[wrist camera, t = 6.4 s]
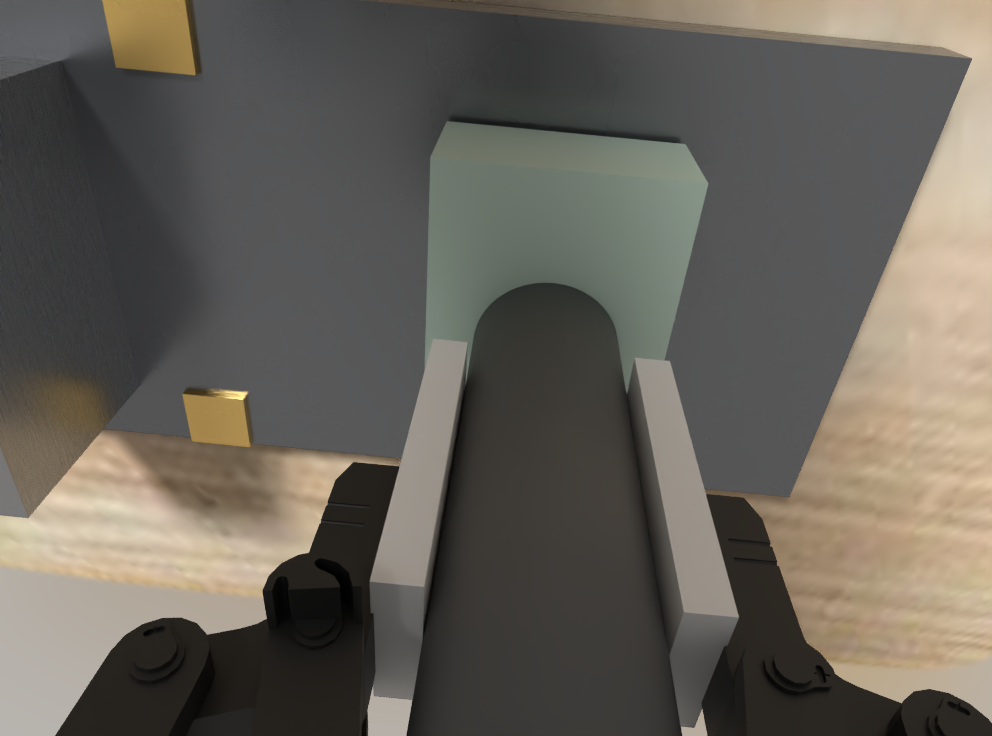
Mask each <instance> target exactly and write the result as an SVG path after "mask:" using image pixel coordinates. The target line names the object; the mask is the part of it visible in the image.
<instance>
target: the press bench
mask: <svg viewBox="0 0 992 736" xmlns="http://www.w3.org/2000/svg"><path fill="white" fill-rule="evenodd" d="M971 60H972V58H970V57H967V56H964V55H961V54H959V53H956V52H953V51H950V50H948V49H945V48H942V47H931V46H921V45H910V44H900V43H889V42H879V41H868V40H858V39H847V38H837V37H826V36H816V35H805V34H795V33H784V32H774V31H763V30H753V29H742V28H732V27H721V26H711V25H700V24H690V23H679V22H669V21H658V20H648V19H637V18H627V17H616V16H606V15H595V14H585V13H574V12H564V11H553V10H543V9H532V8H522V7H511V6H500V5H490V4H479V3H469V2H458V1H448V0H0V515H3V516H13V517H23V518H29V516H30V515H31V514H32V513H33V512H34V510H35V509H36V508H37V507H38V506H39V505H40V503H41V502H42V501H43V500H44V499H45V497H46V496H47V495H48V494H49V493H50V492H51V490H52V489H53V488H54V487H55V486H56V484H57V483H58V482H59V481H60V480H61V478H62V477H63V476H64V475H65V474H66V473H67V471H68V470H69V469H70V468H71V467H72V465H73V464H74V463H75V462H76V461H77V460H78V458H79V457H80V456H81V455H82V454H83V452H84V451H85V450H86V449H87V448H88V447H89V445H90V444H91V443H92V442H93V441H94V439H95V438H96V437H97V436H98V435H99V433H100V432H101V431H102V430H103V429H111V430H121V431H131V432H141V433H151V434H161V435H171V436H181V437H191V439H192V442H202V443H212V444H222V445H232V446H242V447H250V446H251V445H252V444H262V445H272V446H282V447H292V448H302V449H312V450H322V451H332V452H342V453H352V454H362V455H372V456H382V457H392V458H402V456H403V452H404V448H405V444H406V440H407V436H408V433H409V429H410V425H411V421H412V417H413V414H414V410H415V406H416V402H417V398H418V394H419V391H420V387H421V383H422V379H423V375H424V371H425V335H426V299H427V263H428V226H429V190H430V157H431V155H432V152H433V150H434V148H435V146H436V144H437V141H438V139H439V137H440V135H441V133H442V131H443V128H444V126H445V124H446V122H447V121H450V122H461V123H471V124H481V125H492V126H502V127H512V128H523V129H533V130H544V131H554V132H564V133H575V134H585V135H595V136H606V137H616V138H627V139H637V140H647V141H658V142H668V143H679V144H686V146H687V148H688V149H689V151H690V153H691V154H692V156H693V158H694V160H695V161H696V163H697V165H698V167H699V168H700V170H701V172H702V173H703V175H704V177H705V179H706V180H707V182H708V188H707V192H706V196H705V200H704V204H703V208H702V212H701V216H700V220H699V224H698V228H697V232H696V236H695V240H694V244H693V248H692V252H691V256H690V260H689V264H688V268H687V272H686V276H685V280H684V284H683V288H682V292H681V296H680V300H679V304H678V308H677V312H676V316H675V320H674V324H673V328H672V332H671V336H670V340H669V344H668V348H667V352H666V356H665V360H664V361H670V363H671V367H672V371H673V374H674V378H675V382H676V386H677V389H678V393H679V397H680V400H681V404H682V408H683V412H684V415H685V419H686V423H687V426H688V430H689V434H690V438H691V441H692V445H693V449H694V452H695V456H696V460H697V463H698V467H699V471H700V475H701V478H702V482H703V486H704V489H713V490H723V491H733V492H744V493H754V494H764V495H774V496H784V497H789V496H790V494H791V491H792V489H793V487H794V484H795V482H796V479H797V477H798V475H799V472H800V470H801V467H802V465H803V463H804V460H805V458H806V455H807V453H808V451H809V448H810V446H811V443H812V441H813V439H814V436H815V434H816V431H817V429H818V427H819V424H820V422H821V419H822V417H823V415H824V412H825V410H826V408H827V405H828V403H829V400H830V398H831V396H832V393H833V391H834V388H835V386H836V384H837V381H838V379H839V376H840V374H841V372H842V369H843V367H844V364H845V362H846V360H847V357H848V355H849V352H850V350H851V348H852V345H853V343H854V340H855V338H856V336H857V333H858V331H859V328H860V326H861V324H862V321H863V319H864V316H865V314H866V312H867V309H868V307H869V305H870V302H871V300H872V297H873V295H874V293H875V290H876V288H877V285H878V283H879V281H880V278H881V276H882V273H883V271H884V269H885V266H886V264H887V261H888V259H889V257H890V254H891V252H892V249H893V247H894V245H895V242H896V240H897V237H898V235H899V233H900V230H901V228H902V225H903V223H904V221H905V218H906V216H907V214H908V211H909V209H910V206H911V204H912V202H913V199H914V197H915V194H916V192H917V190H918V187H919V185H920V182H921V180H922V178H923V175H924V173H925V170H926V168H927V166H928V163H929V161H930V158H931V156H932V154H933V151H934V149H935V146H936V144H937V142H938V139H939V137H940V134H941V132H942V130H943V127H944V125H945V123H946V120H947V118H948V115H949V113H950V111H951V108H952V106H953V103H954V101H955V99H956V96H957V94H958V91H959V89H960V87H961V84H962V82H963V79H964V77H965V75H966V72H967V70H968V67H969V65H970V63H971Z"/></svg>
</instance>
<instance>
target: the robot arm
mask: <svg viewBox="0 0 992 736" xmlns="http://www.w3.org/2000/svg"><path fill="white" fill-rule="evenodd" d="M467 351H468V342H461V341H451V340H440V339H433V341H432V345H431V349H430V352H429V356H428V360H427V364H426V368H425V372H424V375H423V379H422V383H421V387H420V391H419V394H418V398H417V402H416V406H415V410H414V414H413V417H412V421H411V425H410V429H409V433H408V436H407V440H406V444H405V448H404V452H403V456H402V459H401V463H400V467H399V466H388V465H378V464H367V463H357V462H353V463H352V464H351V465H350V466H349V467H348V468H347V469H346V470H345V471H344V472H343V473H342V474H341V475H340V476H339V477H338V478H337V479H336V481H335V483H334V486H333V489H332V492H331V494H330V497H329V500H328V505H327V506H326V508H325V511H324V513H323V516H322V519H321V524H319V527H318V530H317V532H316V535H315V538H314V541H313V543H312V546H311V549H310V551H309V553H306V554H301V555H297V556H295V557H293V558H291V559H289V560H287V561H285V562H283V563H282V564H280V565H279V566H278V567H277V568H276V569H275V570H274V571H273V572H272V573H271V574H270V575H269V577H268V579H267V582H266V584H265V586H264V589H263V597H264V604H265V610H266V615H267V619H266V620H264V621H262V622H260V623H258V624H255V625H252V626H248V627H245V628H241V629H236V630H230V631H225V632H220V633H215V634H209V635H207V634H206V633H205V632H204V631H203V630H202V629H201V628H200V626H199V625H198V624H197V623H195V622H191V621H189V620H186V619H183V618H161V619H158V620H155V621H152V622H148V623H145V624H142V625H141V626H139V627H138V628H136V629H134V630H133V631H131V632H130V633H128V634H126V635H125V636H124V637H123V638H122V639H121V640H120V641H119V642H118V643H117V645H116V646H115V647H114V648H113V649H112V650H111V651H110V653H109V654H108V656H107V657H106V659H105V660H104V662H103V663H102V665H101V667H100V668H99V670H98V671H97V673H96V674H95V676H94V677H93V679H92V680H91V682H90V683H89V685H88V686H87V688H86V690H85V691H84V693H83V694H82V696H81V697H80V699H79V700H78V702H77V703H76V705H75V706H74V708H73V709H72V711H71V712H70V714H69V715H68V717H67V718H66V720H65V722H64V723H63V725H62V726H61V728H60V730H59V731H58V732H57V734H56V735H55V736H368V714H367V709H368V704H369V700H370V695H371V691H372V687H373V688H374V696H379V697H389V698H399V699H409V700H413V694H414V688H415V682H416V676H417V671H418V665H419V659H420V653H421V647H422V641H423V635H424V629H425V623H426V617H427V611H428V605H429V599H430V593H431V587H432V581H433V576H434V570H435V564H436V558H437V552H438V546H439V540H440V534H441V528H442V522H443V516H444V510H445V504H446V498H447V492H448V486H449V481H450V475H451V469H452V463H453V457H454V451H455V445H456V439H457V433H458V427H459V421H460V415H461V409H462V403H463V397H464V391H465V384H466V368H467ZM627 400H628V406H629V412H630V419H631V425H632V431H633V437H634V443H635V449H636V456H637V462H638V468H639V474H640V480H641V486H642V492H643V499H644V505H645V511H646V517H647V523H648V529H649V535H650V542H651V548H652V554H653V560H654V566H655V572H656V578H657V585H658V591H659V597H660V603H661V609H662V615H663V621H664V628H665V634H666V640H667V646H668V652H669V658H670V664H671V671H672V677H673V683H674V689H675V695H676V701H677V707H678V714H679V720H680V726H683V727H692V728H694V727H695V724H696V722H697V720H698V717H699V715H700V712H701V710H702V709H703V714H704V719H705V724H706V730H707V735H708V736H992V723H991V722H990V721H989V719H988V718H986V717H985V716H984V715H983V714H982V713H980V712H979V711H978V710H977V709H975V708H974V707H973V706H971V705H970V704H969V703H967V702H965V701H963V700H961V699H959V698H957V697H955V696H953V695H951V694H949V693H945V692H940V691H935V690H931V689H927V690H922V691H915V692H913V693H912V694H911V695H910V696H908V697H907V698H906V699H905V700H904V701H903V703H899V702H896V701H894V700H891V699H888V698H886V697H883V696H880V695H878V694H875V693H873V692H870V691H868V690H865V689H862V688H860V687H857V686H855V685H853V684H851V683H849V682H847V681H844V680H843V679H842V678H840V677H839V676H837V675H836V674H835V673H834V670H833V668H832V667H831V666H830V664H829V663H828V662H827V661H826V659H825V658H824V657H823V656H822V655H821V653H819V652H818V651H817V650H815V649H814V648H813V647H811V646H810V645H808V644H807V643H806V641H805V639H804V637H803V634H802V631H801V629H800V626H799V623H798V620H797V617H796V614H795V611H794V609H793V606H792V603H791V600H790V597H789V594H788V591H787V589H786V586H785V583H784V580H783V577H782V574H781V571H780V569H779V566H777V560H776V557H775V554H774V552H773V549H772V547H770V540H769V537H768V534H767V532H766V529H765V526H764V523H763V520H762V518H761V517H760V516H759V515H758V514H757V513H756V511H755V510H754V509H753V508H752V507H751V506H750V504H749V503H748V502H747V501H746V500H745V499H744V498H741V497H730V496H720V495H709V494H706V493H705V489H704V486H703V482H702V478H701V475H700V471H699V467H698V463H697V460H696V456H695V452H694V449H693V445H692V441H691V438H690V434H689V430H688V426H687V423H686V419H685V415H684V412H683V408H682V404H681V400H680V397H679V393H678V389H677V386H676V382H675V378H674V374H673V371H672V367H671V363H670V361H664V360H653V359H643V358H635V359H634V363H633V368H632V373H631V377H630V382H629V387H628V391H627ZM373 685H374V686H373Z"/></svg>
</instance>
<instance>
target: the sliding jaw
mask: <svg viewBox="0 0 992 736" xmlns="http://www.w3.org/2000/svg"><path fill="white" fill-rule="evenodd" d="M707 188H708V182H707V180H706V179H705V177H704V175H703V173H702V172H701V170H700V168H699V167H698V165H697V163H696V161H695V160H694V158H693V156H692V154H691V153H690V151H689V149H688V148H687V146H686V144H679V143H668V142H658V141H647V140H637V139H627V138H616V137H606V136H595V135H585V134H575V133H564V132H554V131H544V130H533V129H523V128H512V127H502V126H492V125H481V124H471V123H461V122H450V121H447V122H446V124H445V126H444V128H443V131H442V133H441V135H440V137H439V139H438V141H437V144H436V146H435V148H434V150H433V152H432V155H431V157H430V190H429V226H428V263H427V299H426V335H425V368H426V364H427V360H428V356H429V352H430V349H431V345H432V341H433V339H440V340H451V341H461V342H468V351H467V368H466V384H465V391H464V397H463V403H462V409H461V415H460V421H459V427H458V433H457V439H456V445H455V451H454V457H453V463H452V469H451V475H450V481H449V486H448V492H447V498H446V504H445V510H444V516H443V522H442V528H441V534H440V540H439V546H438V552H437V558H436V564H435V570H434V576H433V581H432V587H431V593H430V599H429V605H428V611H427V617H426V623H425V629H424V635H423V641H422V647H421V653H420V659H419V665H418V671H417V676H416V682H415V688H414V694H413V700H412V706H411V713H410V719H409V724H408V730H407V736H682V732H681V726H680V720H679V714H678V707H677V701H676V695H675V689H674V683H673V677H672V671H671V664H670V658H669V652H668V646H667V640H666V634H665V628H664V621H663V615H662V609H661V603H660V597H659V591H658V585H657V578H656V572H655V566H654V560H653V554H652V548H651V542H650V535H649V529H648V523H647V517H646V511H645V505H644V499H643V492H642V486H641V480H640V474H639V468H638V462H637V456H636V449H635V443H634V437H633V431H632V425H631V419H630V412H629V406H628V400H627V391H628V387H629V382H630V377H631V373H632V368H633V363H634V359H635V358H643V359H653V360H665V356H666V352H667V348H668V344H669V340H670V336H671V332H672V328H673V324H674V320H675V316H676V312H677V308H678V304H679V300H680V296H681V292H682V288H683V284H684V280H685V276H686V272H687V268H688V264H689V260H690V256H691V252H692V248H693V244H694V240H695V236H696V232H697V228H698V224H699V220H700V216H701V212H702V208H703V204H704V200H705V196H706V192H707ZM424 372H425V371H424Z"/></svg>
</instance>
